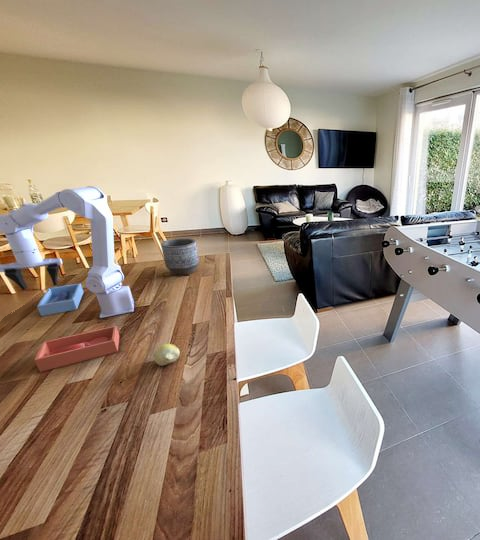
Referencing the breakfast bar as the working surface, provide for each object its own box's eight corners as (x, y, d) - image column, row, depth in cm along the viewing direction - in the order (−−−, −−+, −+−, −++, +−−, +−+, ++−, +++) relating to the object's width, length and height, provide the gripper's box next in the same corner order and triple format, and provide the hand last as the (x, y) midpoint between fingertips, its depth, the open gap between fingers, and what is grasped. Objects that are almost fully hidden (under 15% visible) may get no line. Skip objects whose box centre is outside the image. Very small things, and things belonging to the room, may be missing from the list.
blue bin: (52, 297, 112) (48, 288, 110) (83, 292, 117) (80, 283, 115) (41, 316, 100) (36, 306, 98) (77, 309, 105) (73, 299, 103)
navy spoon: (59, 296, 112) (56, 290, 111) (74, 294, 114) (72, 288, 113) (51, 310, 103) (49, 304, 102) (68, 307, 105) (66, 301, 104)
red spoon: (50, 363, 79) (47, 355, 78) (54, 354, 82) (51, 346, 81) (108, 348, 85) (106, 341, 84) (109, 340, 89) (107, 333, 88)
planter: (202, 273, 140) (197, 244, 134) (168, 279, 132) (161, 248, 126) (198, 264, 150) (193, 236, 145) (166, 268, 143) (160, 240, 137)
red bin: (119, 336, 92) (116, 325, 90) (117, 351, 85) (114, 340, 83) (48, 353, 83) (43, 341, 82) (40, 372, 76) (34, 360, 75)
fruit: (178, 346, 89) (185, 359, 81) (157, 359, 85) (163, 374, 78) (168, 332, 86) (174, 344, 79) (146, 345, 83) (150, 358, 76)
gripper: (58, 243, 102) (71, 278, 107) (-3, 249, 94) (14, 286, 99) (54, 249, 97) (67, 285, 102) (-12, 255, 89) (6, 294, 94)
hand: (40, 286), depth 100 cm, fingers open, 7 cm apart
